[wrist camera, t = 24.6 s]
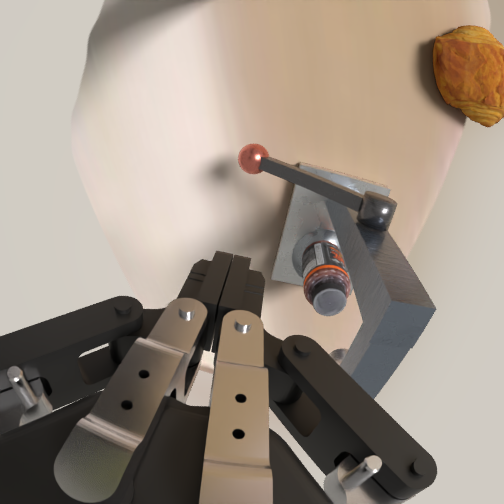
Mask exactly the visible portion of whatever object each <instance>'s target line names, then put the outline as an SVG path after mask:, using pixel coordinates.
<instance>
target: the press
mask: <svg viewBox="0 0 504 504" xmlns="http://www.w3.org/2000/svg"><path fill="white" fill-rule="evenodd" d="M299 168H300V169H303V170H306V171H308V172H311V173H313V174H316V175H318V176H321V177H323V178H325V179H328V180H330V181H333V182H335V183H337V184H340V185H342V186H344V187H347V188H349V189H351V190H354V191H356V192H358V193H360V194H363V195H364V193H365V191H372V192H376V193H379V194H382V195H384V196H387V197H388V196H389V193H390V189H389V188H388V187H387V186H386V185H383V184H379V183H376V182H373V181H369V180H366V179H363V178H359V177H356V176H352V175H349V174H345V173H341V172H338V171H334V170H330V169H326V168H323V167H319V166H315V165H311V164H307V163H303V162H300V163H299ZM357 215H358V212H356V211H354V210H352V209H350V208H348V207H346V206H344V205H342V204H339V203H337V202H335V201H333V200H331V199H328V198H326V197H324V196H322V195H320V194H317V193H315V192H313V191H310V190H308V189H306V188H304V187H301V186H299V185H297V184H294V188H293V192H292V196H291V200H290V204H289V208H288V212H287V216H286V220H285V224H284V228H283V231H282V235H281V239H280V243H279V247H278V251H277V255H276V258H275V262H274V266H273V270H272V276H271V279H272V280H277V281H281V282H286V283H291V284H296V285H301V286H303V271H302V255H303V252H304V251H305V249H306V248H307V247H308V246H309V245H310V244H312V243H314V242H316V241H322V240H325V241H329V242H332V243H333V244H335V245H336V246H337V247H338V248H339V250H340V251H341V254H342V257H343V260H344V263H345V266H346V270H347V273H348V276H349V280H350V284H351V290H350V294H349V295H351V293H352V290H353V289H354V292H355V295H356V299H357V302H358V306H359V309H360V313H361V316H362V320H363V323H362V325H361V327H360V329H359V331H358V333H357V335H356V337H355V339H354V341H353V342H352V344H351V346H350V348H349V350H347V349H337V350H334V351H333V352H331V353H330V354H329V355H330V356H331V357H332V358H333V359H334V360H335V361H336V362H337V363H338V364H339V365H340V366H341V367H342V368H343V369H344V370H345V371H346V372H347V373H348V374H349V375H350V376H351V377H352V378H353V379H354V380H355V381H356V382H357V383H358V384H359V385H360V386H361V387H362V388H363V389H364V390H365V391H366V392H367V393H368V394H369V395H370V396H371V397H372V398H373V399H374V398H375V397H376V396H377V394H378V393H379V392H380V390H381V389H382V388H383V386H384V385H385V383H386V382H387V381H388V380H389V378H390V377H391V376H392V374H393V373H394V371H395V370H396V368H397V367H398V366H399V364H400V363H401V361H402V360H403V358H404V357H405V355H406V354H407V353H408V351H409V350H410V348H413V346H414V345H415V343H416V342H417V340H418V338H419V337H420V335H421V334H422V332H423V331H424V329H425V327H426V326H427V324H428V322H429V321H430V319H431V317H432V316H433V314H434V312H435V310H436V307H435V306H434V304H433V302H432V301H431V299H430V297H429V295H428V294H427V292H426V290H425V289H424V287H423V285H422V284H421V282H420V280H419V279H418V277H417V275H416V274H415V272H414V270H413V269H412V267H411V266H410V264H409V263H408V261H407V259H406V258H405V256H404V255H403V253H402V252H401V250H400V249H399V247H398V246H397V244H396V243H395V241H394V240H393V238H392V237H391V235H390V234H389V232H388V231H386V232H381V231H376V230H373V229H371V228H368V227H366V226H364V225H362V224H361V223H360V222H358V220H357V219H356V218H357Z"/></svg>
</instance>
